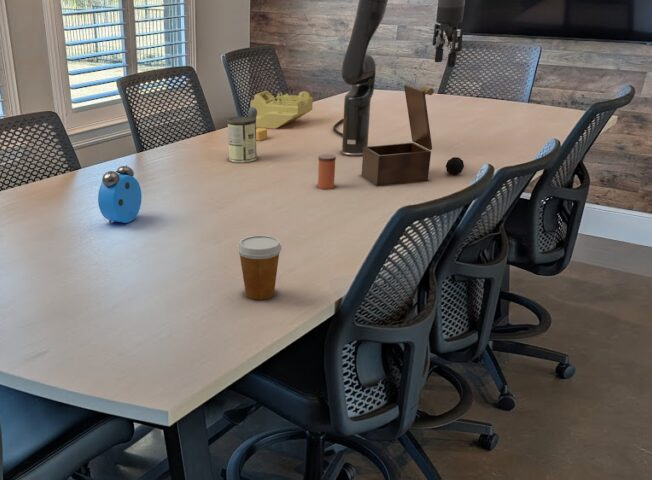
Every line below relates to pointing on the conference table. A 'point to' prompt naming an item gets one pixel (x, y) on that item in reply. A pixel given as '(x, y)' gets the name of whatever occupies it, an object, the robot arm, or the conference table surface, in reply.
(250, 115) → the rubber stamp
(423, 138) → the lid
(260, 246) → the disposable coffee cup
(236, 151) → the coffee can
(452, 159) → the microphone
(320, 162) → the canister
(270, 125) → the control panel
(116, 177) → the alarm clock
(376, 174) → the chest
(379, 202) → the conference table surface
